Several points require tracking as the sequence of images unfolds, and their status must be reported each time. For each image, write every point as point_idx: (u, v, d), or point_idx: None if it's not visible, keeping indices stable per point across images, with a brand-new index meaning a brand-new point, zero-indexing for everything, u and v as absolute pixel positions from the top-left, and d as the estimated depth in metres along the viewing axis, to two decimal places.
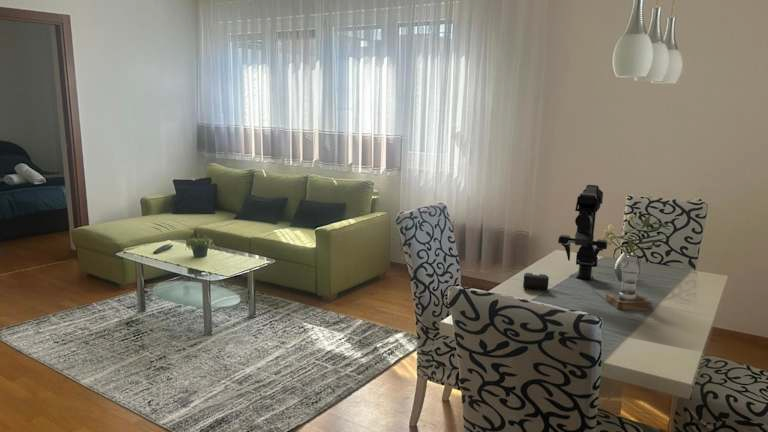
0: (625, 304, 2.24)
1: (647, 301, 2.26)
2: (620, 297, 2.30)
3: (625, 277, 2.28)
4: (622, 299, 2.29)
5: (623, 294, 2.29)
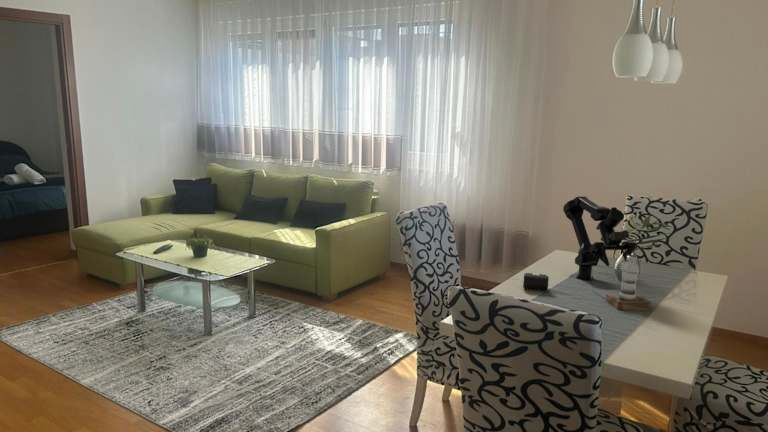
0: (625, 304, 2.24)
1: (647, 301, 2.26)
2: (620, 297, 2.30)
3: (625, 277, 2.28)
4: (622, 299, 2.29)
5: (623, 294, 2.29)
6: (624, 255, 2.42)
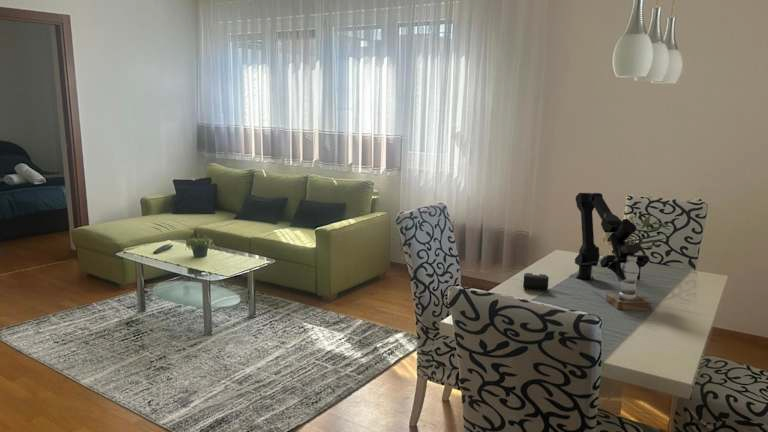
0: (625, 304, 2.24)
1: (647, 301, 2.26)
2: (620, 297, 2.30)
3: (625, 277, 2.28)
4: (622, 299, 2.29)
5: (623, 294, 2.29)
6: None
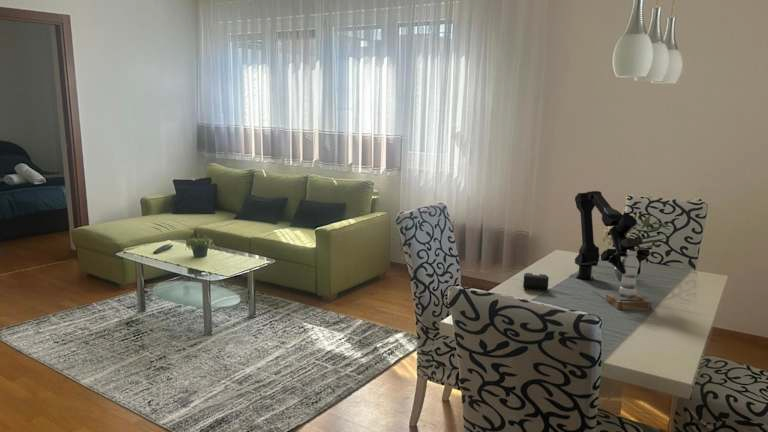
0: (625, 304, 2.24)
1: (647, 301, 2.26)
2: (620, 292, 2.30)
3: (625, 271, 2.28)
4: (623, 293, 2.29)
5: (623, 288, 2.29)
6: None
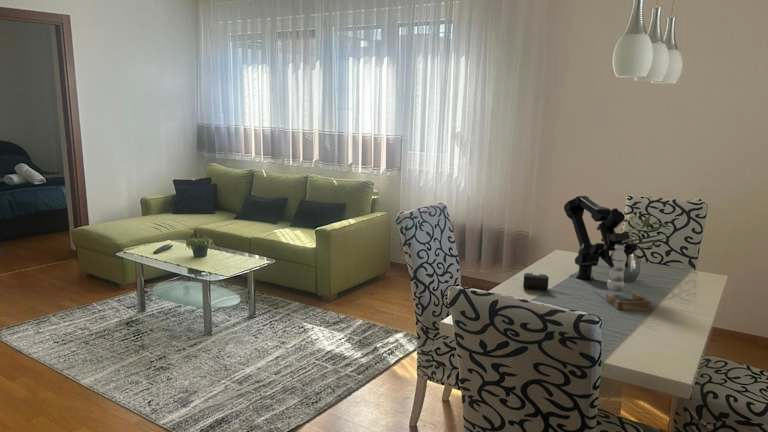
0: (625, 304, 2.24)
1: (647, 301, 2.26)
2: (608, 284, 2.39)
3: (613, 265, 2.37)
4: (610, 286, 2.38)
5: (611, 281, 2.38)
6: None
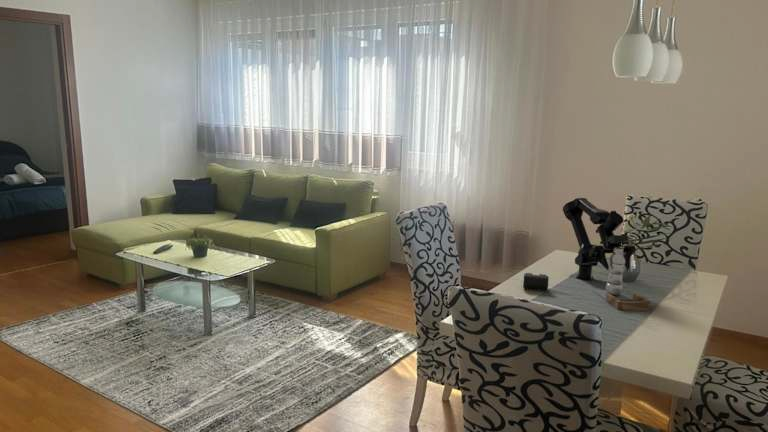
0: (625, 304, 2.24)
1: (647, 301, 2.26)
2: (607, 288, 2.40)
3: (612, 268, 2.38)
4: (609, 289, 2.39)
5: (610, 285, 2.39)
6: None
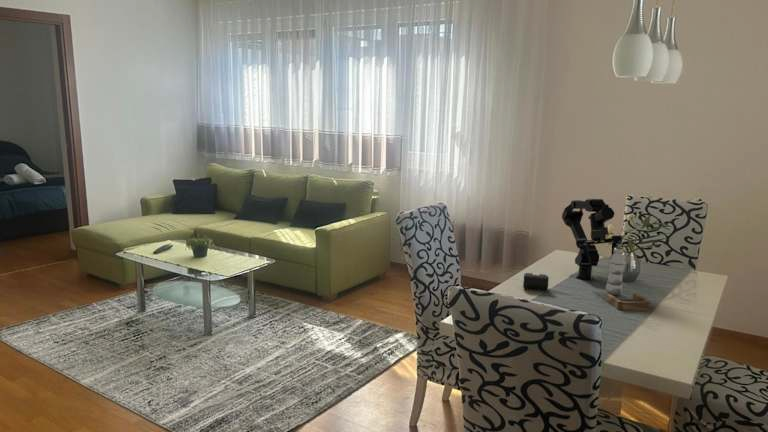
0: (625, 304, 2.24)
1: (647, 301, 2.26)
2: (607, 288, 2.40)
3: (612, 268, 2.38)
4: (609, 290, 2.39)
5: (610, 285, 2.39)
6: None
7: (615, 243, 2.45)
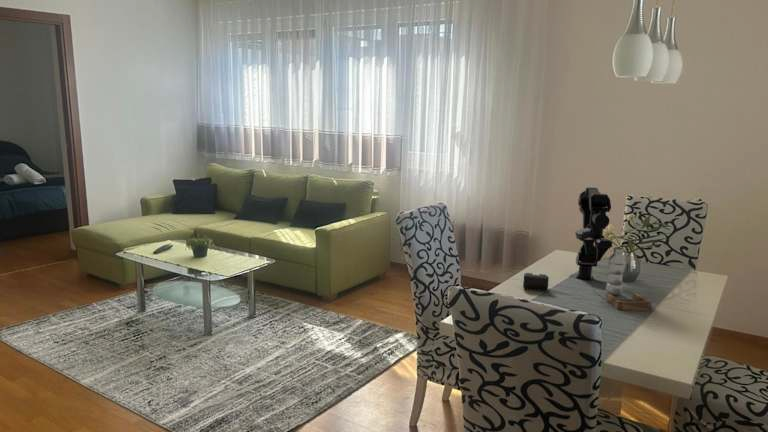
0: (625, 304, 2.24)
1: (647, 301, 2.26)
2: (607, 288, 2.40)
3: (612, 268, 2.38)
4: (609, 290, 2.39)
5: (610, 285, 2.39)
6: None
7: (596, 247, 2.41)
